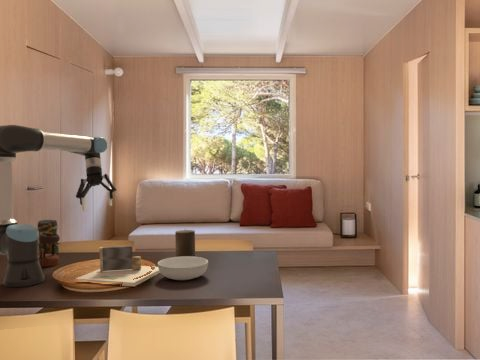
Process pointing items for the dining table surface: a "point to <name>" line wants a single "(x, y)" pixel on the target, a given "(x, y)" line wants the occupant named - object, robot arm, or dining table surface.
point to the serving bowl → (182, 267)
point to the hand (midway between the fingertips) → (97, 208)
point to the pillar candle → (185, 243)
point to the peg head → (118, 259)
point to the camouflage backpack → (53, 230)
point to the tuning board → (121, 276)
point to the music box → (48, 247)
